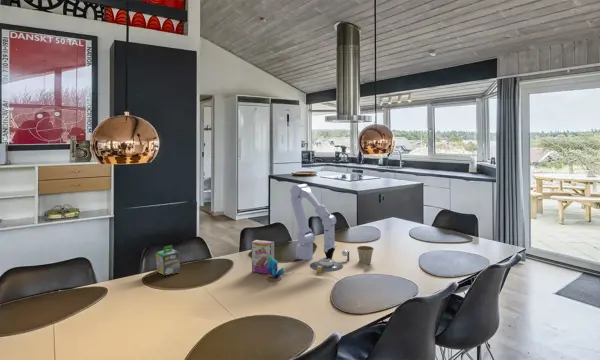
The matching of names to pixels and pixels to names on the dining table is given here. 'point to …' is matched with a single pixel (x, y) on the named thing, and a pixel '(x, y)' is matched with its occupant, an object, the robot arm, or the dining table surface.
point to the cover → (326, 262)
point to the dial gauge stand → (346, 254)
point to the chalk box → (167, 261)
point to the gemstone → (274, 270)
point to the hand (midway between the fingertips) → (329, 261)
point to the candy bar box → (261, 255)
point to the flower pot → (365, 254)
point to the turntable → (320, 268)
